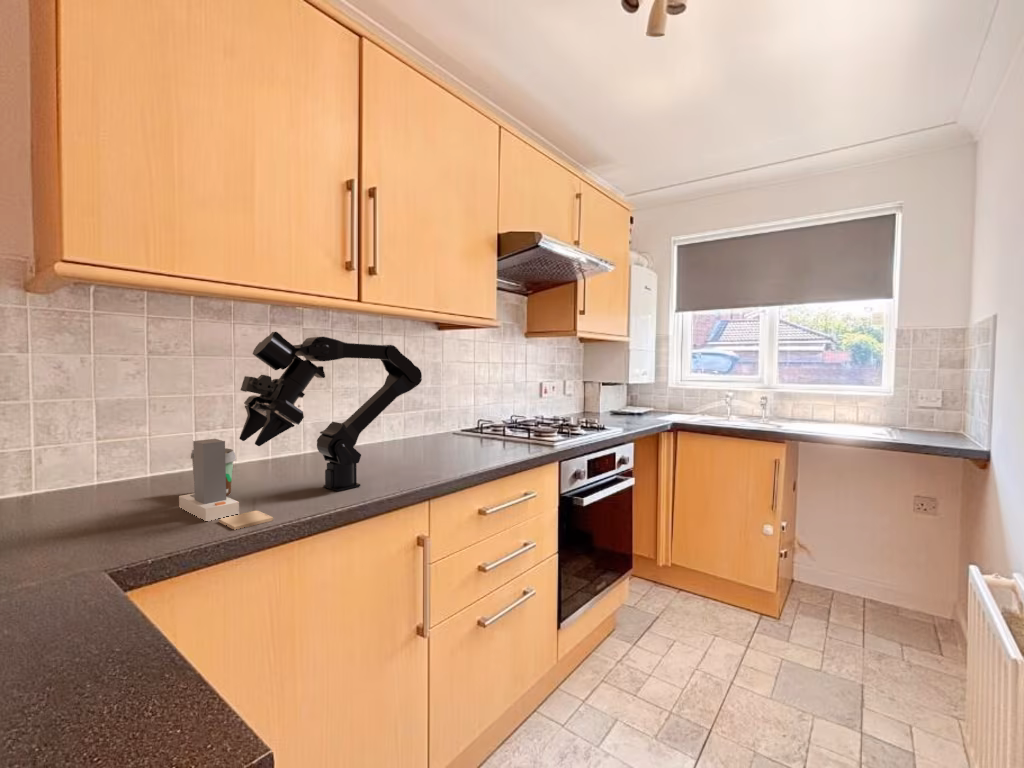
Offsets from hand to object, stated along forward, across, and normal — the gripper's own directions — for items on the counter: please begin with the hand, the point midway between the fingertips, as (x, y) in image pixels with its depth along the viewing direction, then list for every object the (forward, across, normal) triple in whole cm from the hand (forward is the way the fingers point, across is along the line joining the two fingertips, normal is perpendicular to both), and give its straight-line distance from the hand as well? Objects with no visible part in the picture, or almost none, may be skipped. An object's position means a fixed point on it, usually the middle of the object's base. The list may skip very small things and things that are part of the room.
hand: (248, 442), depth 103 cm
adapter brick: (+13, 0, +1) cm, 13 cm away
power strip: (+15, -4, +2) cm, 16 cm away
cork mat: (+13, +11, +5) cm, 18 cm away
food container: (+12, -15, +7) cm, 20 cm away
